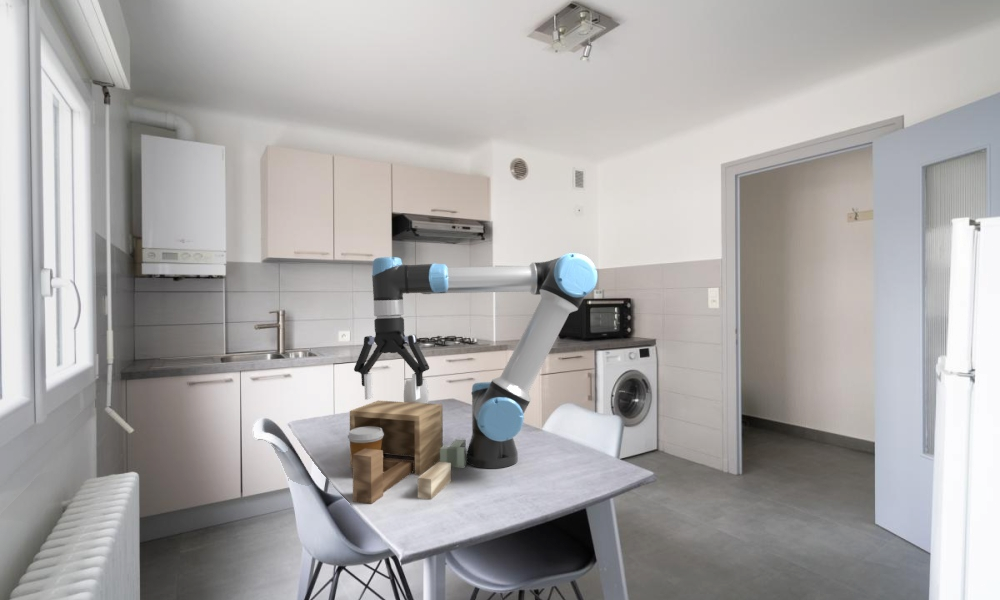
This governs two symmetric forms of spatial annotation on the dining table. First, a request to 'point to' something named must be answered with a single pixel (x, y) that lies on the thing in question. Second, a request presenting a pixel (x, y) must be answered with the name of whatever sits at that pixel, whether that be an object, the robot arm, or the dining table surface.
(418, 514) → the dining table surface
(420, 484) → the beech stick
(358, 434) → the disposable coffee cup
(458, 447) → the tee stick
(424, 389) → the wineglass
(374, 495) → the crook
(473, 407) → the robot arm
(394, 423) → the wooden storage bin
